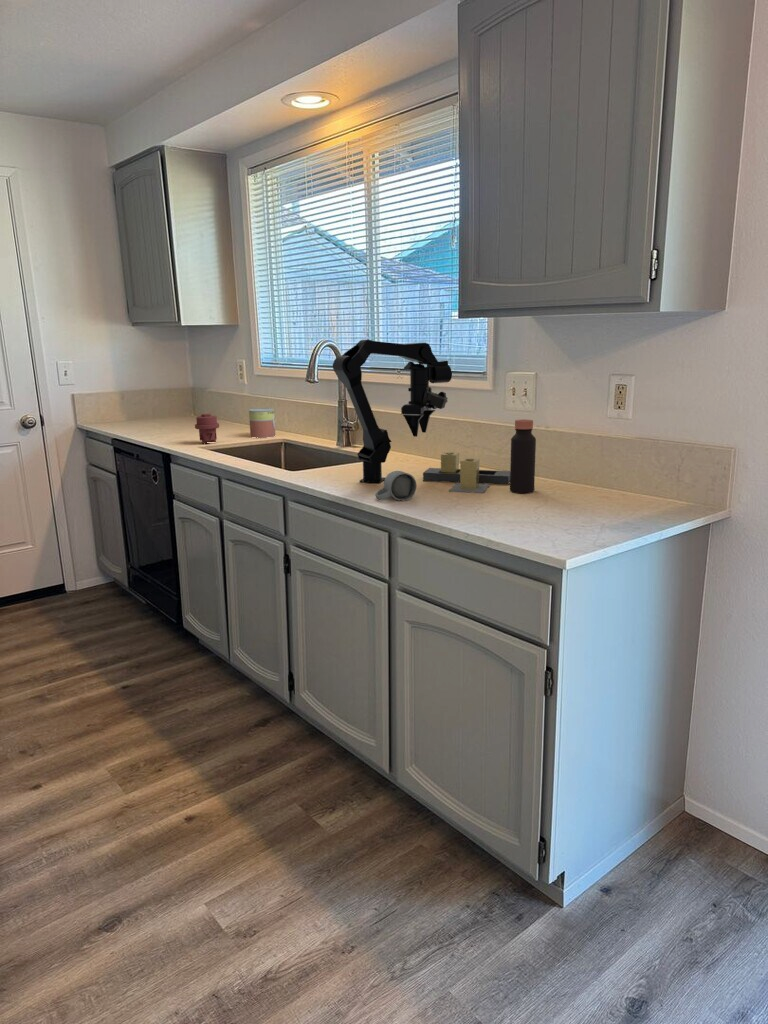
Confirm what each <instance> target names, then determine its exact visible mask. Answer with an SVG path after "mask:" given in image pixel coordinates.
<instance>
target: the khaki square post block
mask: <svg viewBox="0 0 768 1024" xmlns="http://www.w3.org/2000/svg"><path fill="white" fill-rule="evenodd" d="M440 468H441V473H459V469H460V452H450V451H447V452H446V451H444V452H443V453H441V454H440Z"/></svg>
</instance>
